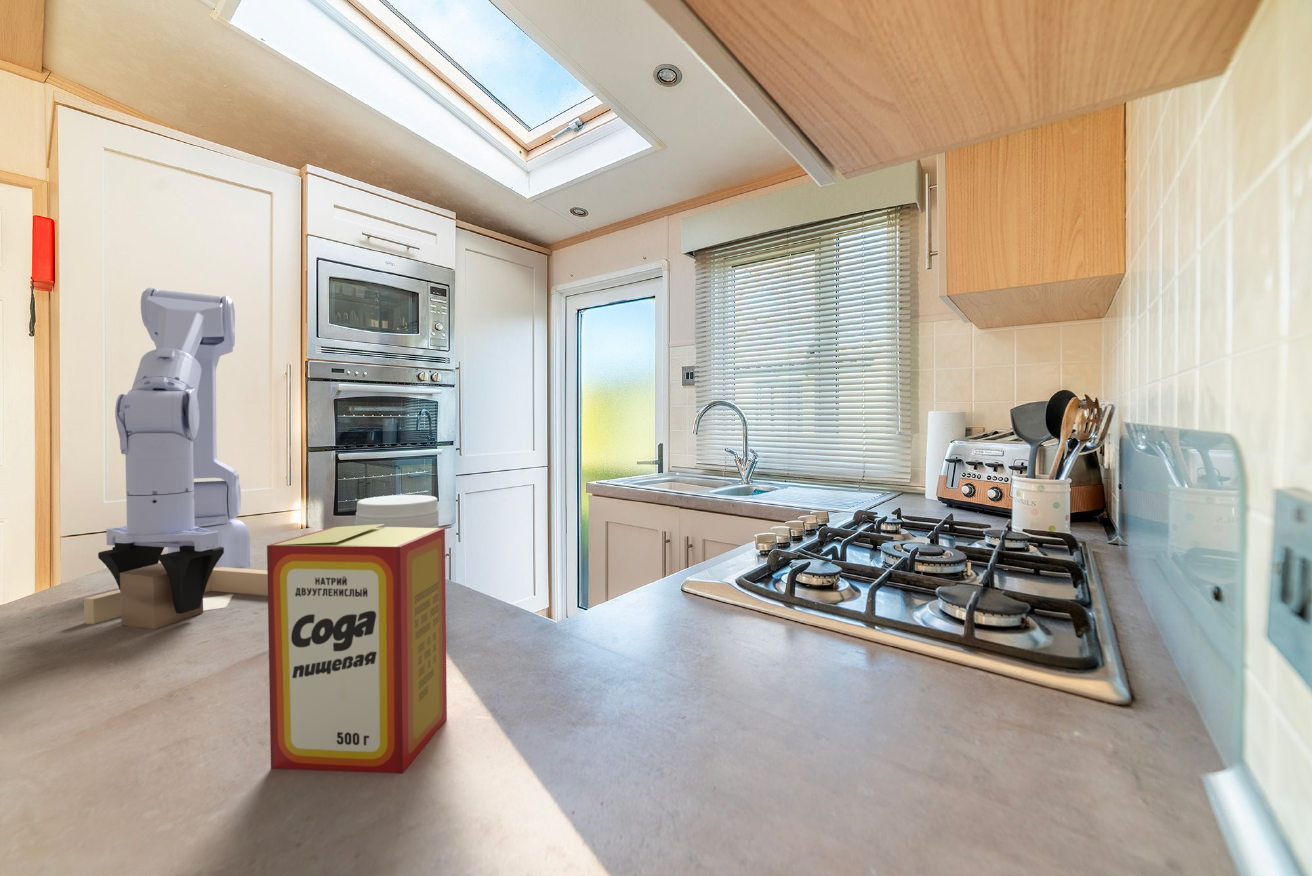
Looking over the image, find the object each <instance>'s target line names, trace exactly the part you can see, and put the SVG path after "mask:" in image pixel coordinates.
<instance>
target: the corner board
mask: <svg viewBox="0 0 1312 876" xmlns="http://www.w3.org/2000/svg"><path fill="white" fill-rule="evenodd" d="M210 591H211V592H222V593H230V594H225V595H216V596H211V597H203V612H206V611H214V610H221V609H226V607H228V604H229V602H230V601H231V599H232V598H233V596H234V593H235V594H243V595H255V596H267V597H268V575H267V569H266V570H265V569H255V568H254V569H253V568H243V567H240V568H228V567H214V569H213V571H212V573H211V575H210V577H209V580H208V582H207V585H206V589H205V592H204V593H207V592H210ZM231 593H233V594H231ZM117 618H122V617H121V592H120V589H119V588H118V589H116V590H112V591H108V592H104V593H100V594H96V595H92V596H87V597H83V620H84V622H83V623H84V624H88V625H95V624H99V623H102V622H106V621H109V620H114V619H117Z"/></svg>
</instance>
